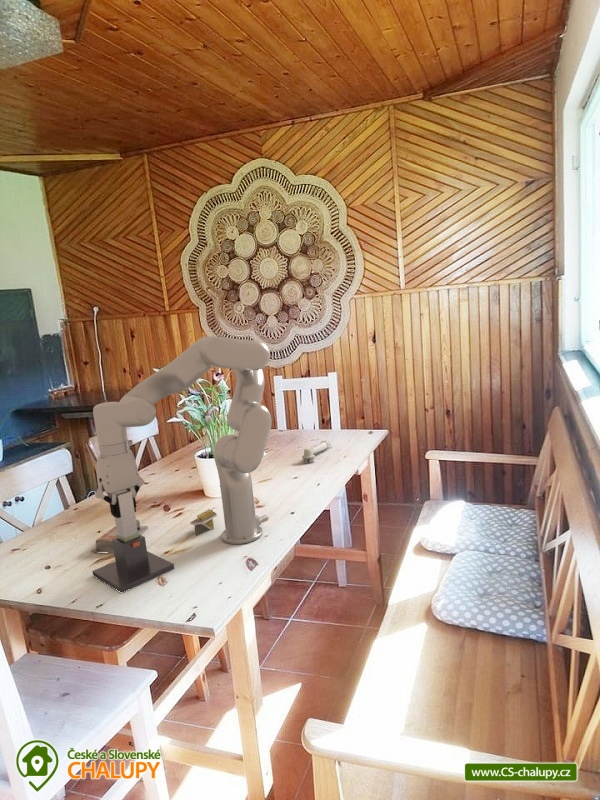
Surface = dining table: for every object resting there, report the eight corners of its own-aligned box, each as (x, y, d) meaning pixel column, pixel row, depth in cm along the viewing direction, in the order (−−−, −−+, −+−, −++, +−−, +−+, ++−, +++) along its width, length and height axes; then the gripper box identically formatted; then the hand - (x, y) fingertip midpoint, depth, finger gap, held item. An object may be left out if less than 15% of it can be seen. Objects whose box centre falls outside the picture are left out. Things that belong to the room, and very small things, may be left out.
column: (133, 543, 160) (124, 488, 157) (140, 547, 157) (132, 491, 154) (119, 549, 157) (110, 493, 155) (126, 553, 154) (117, 496, 152)
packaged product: (117, 540, 171) (88, 539, 174) (119, 555, 172) (90, 554, 174) (147, 516, 188) (120, 516, 191) (149, 530, 189) (122, 530, 192)
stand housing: (144, 554, 170) (139, 522, 168) (174, 568, 159) (169, 534, 157) (93, 576, 159) (87, 542, 157) (121, 593, 148) (115, 557, 146)
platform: (239, 524, 187) (236, 505, 186) (202, 547, 172) (199, 526, 171) (211, 519, 193) (208, 501, 192) (173, 541, 178) (170, 521, 177)
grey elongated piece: (331, 440, 265) (311, 447, 243) (332, 454, 266) (311, 463, 243) (321, 439, 268) (299, 447, 245) (321, 454, 268) (300, 463, 245)
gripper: (135, 439, 161) (144, 501, 164) (77, 455, 149) (88, 521, 153) (149, 442, 155) (158, 506, 159) (90, 459, 144) (101, 527, 147)
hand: (124, 513), depth 156 cm, fingers closed on column, 4 cm apart
